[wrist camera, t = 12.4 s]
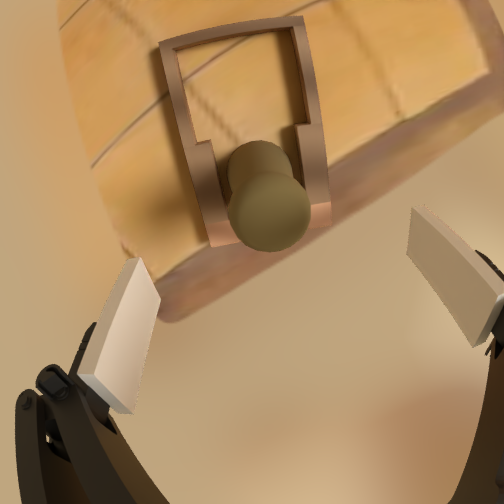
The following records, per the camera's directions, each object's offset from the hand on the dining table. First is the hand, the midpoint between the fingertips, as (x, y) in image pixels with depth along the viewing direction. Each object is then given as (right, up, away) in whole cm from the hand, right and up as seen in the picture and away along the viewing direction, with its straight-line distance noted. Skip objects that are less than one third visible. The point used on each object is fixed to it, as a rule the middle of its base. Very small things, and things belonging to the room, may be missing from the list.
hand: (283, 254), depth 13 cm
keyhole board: (-1, +11, +11) cm, 15 cm away
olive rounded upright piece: (-1, +8, +13) cm, 15 cm away
